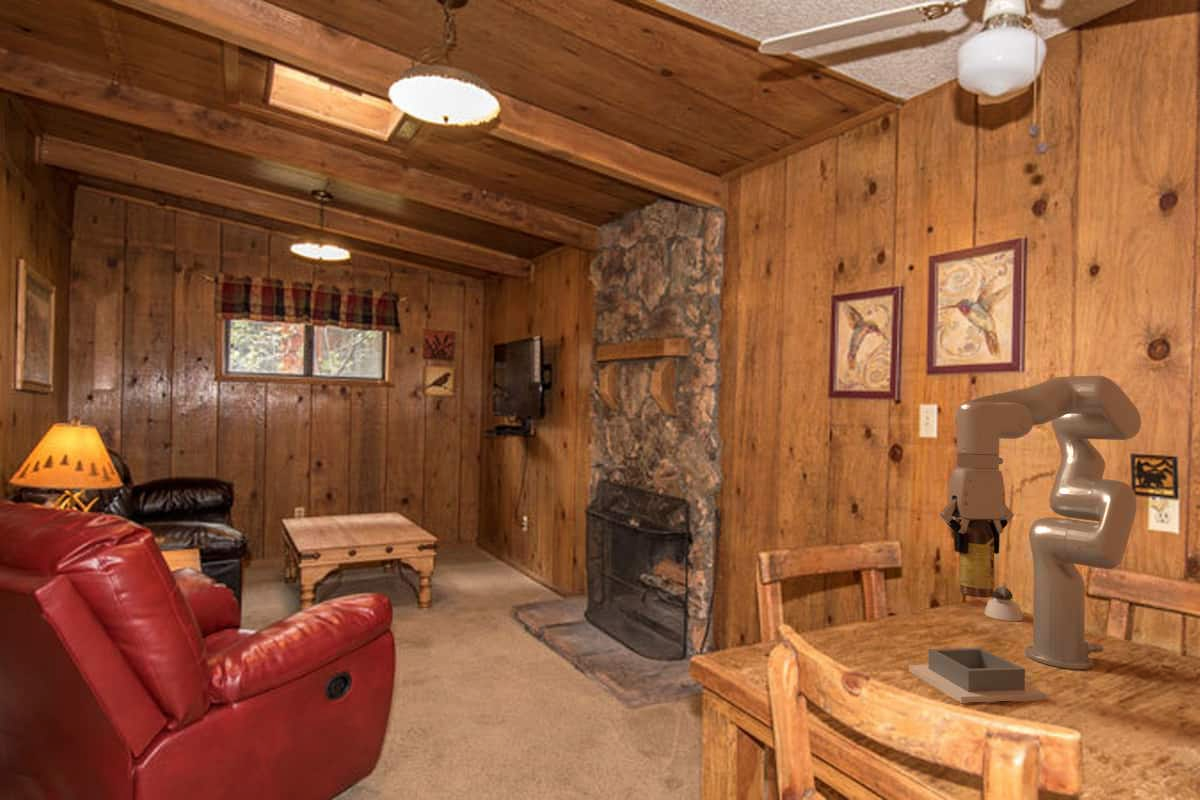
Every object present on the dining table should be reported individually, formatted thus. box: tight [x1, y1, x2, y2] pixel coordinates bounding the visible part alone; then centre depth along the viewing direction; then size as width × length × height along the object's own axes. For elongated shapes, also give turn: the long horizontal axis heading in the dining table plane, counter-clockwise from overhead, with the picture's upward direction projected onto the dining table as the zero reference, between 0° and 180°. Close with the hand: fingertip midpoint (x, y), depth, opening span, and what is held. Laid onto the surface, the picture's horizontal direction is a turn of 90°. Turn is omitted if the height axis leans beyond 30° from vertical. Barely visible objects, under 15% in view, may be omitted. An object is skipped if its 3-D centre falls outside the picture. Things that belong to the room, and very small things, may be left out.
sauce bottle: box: [958, 520, 995, 599], centre depth 135 cm, size 6×6×20 cm
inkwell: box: [983, 585, 1024, 622], centre depth 181 cm, size 9×18×10 cm, turn 153°
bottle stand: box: [908, 647, 1048, 704], centre depth 135 cm, size 18×16×5 cm
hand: (976, 551), depth 135 cm, fingers closed on sauce bottle, 6 cm apart
